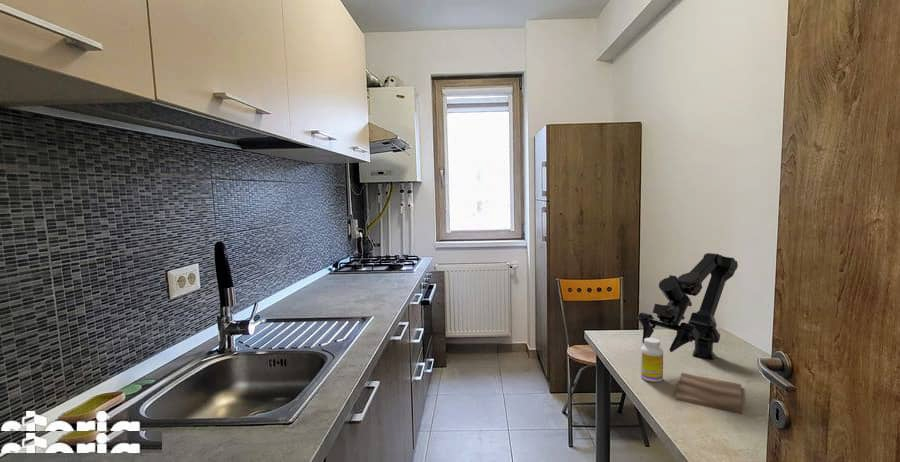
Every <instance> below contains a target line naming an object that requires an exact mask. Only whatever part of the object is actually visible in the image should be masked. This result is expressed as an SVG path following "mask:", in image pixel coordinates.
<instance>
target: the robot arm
mask: <svg viewBox="0 0 900 462" xmlns="http://www.w3.org/2000/svg"><path fill="white" fill-rule="evenodd" d="M738 265H739V264H738V261H737V260H735V258H734V257H729V256H724V255H721V254H720V253H712V252H707V253H704V255H703V258H701V260H700V261H699V262H698V263H697V264H696V265H695V266H694V267H693V268H692V269H691V270H690V271H689V272H687V273H686V272H685V273H683V274H681V275H679V276H678V277H677V275H669V276H668V277H665V278H664V279H661V280H660V281H659V283H658V288H659V290H660V291H661V292H662V294H663V296H664V297H665V298H666V300H667V304H658V303H654V305H653V308H652V313H653V314H656V318H657V319H655V318H654V317H653V315H652V314H650V313H646V312H639V313H638V315H637V317H636V318H637V320H638V321H639V323H640V324H641V326H642V330H643V331H642V344H643V345H645V344H644V339H645V338H651V337H652V334H653V333H654V331H655V330H654V329H655V328H656V327H661V328H664V329H668V330H671V331H676V336H675V337H674V339H673V341H672V343H671V345H670V347H669V350H668V351H669V352H670V353H672V352H674V351H676V350H677V349H679V348H680V347H682V346H684V345H685V344H687V343H692V342H693V341H694V349H693V351H692V356H693V357H696V358H703V359H707V360H708V359H709V360H714V359H715V352H714V344H715V343H716V344H718V343H719V341H720V339H721V334H720V332H719V331H718V329H717V325H718V324H717V322H716V318H715V314H716V312H717V308H718V305H719V302H720V299H721V297H722V293H723V290H724V287H725V284H726V282H727V281H728V280H729V279H731V278H732V277H733V276H734V275H735V272H736V270H737V269H738ZM709 275H710V278H709V282H708V284H707V287H706V290H705V293H704V296H703V298H702V301H701V305H700V306H699V307H700V308H699V310H698V311H696V312H695V311H694V312H691V314H690V318H689V320H688V322H684V321H683V320H685V319H686V317H685V313H686V310H687V308H688V307H692V305H693V304H692V303H693V302H692V301H691V298H690V297H689V296H693V297H696V296H698V295H699V293H701V291H702V289H703V285H702V283H703V282H704V280H705V279H707V277H708V276H709ZM681 321H683V322H681Z"/></svg>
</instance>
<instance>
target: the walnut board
mask: <svg viewBox="0 0 900 462" xmlns="http://www.w3.org/2000/svg"><path fill="white" fill-rule="evenodd" d="M679 377H680V378H679V380H678V381H679V382H678V385H677V387H676V392H675V396H674V398H675V399H676V400H681V401H684V402H689V403H692V404H696V405H697V404H698V405H702V406H706V407H711V408H714V409H715V408H716V409H720V410H724V411H727V412H729V411H730V412H732V413H733V412H734V413H736V414H737V413H738V414H741V415H742V413H743V412H742V411H743V408H742V406H743V405H742V383H736V382H731V381H727V380H721V379H716V378H711V377H707V376H706V377H705V376H701V375H697V374H696V375H695V374H691V373H686V372H681V374H680V376H679Z"/></svg>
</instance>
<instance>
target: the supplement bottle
mask: <svg viewBox="0 0 900 462" xmlns="http://www.w3.org/2000/svg"><path fill="white" fill-rule="evenodd" d="M660 345H661V340H660V339H658V338H655V337H650V338H645V339H644V344H643V345H642V346H641V348H640V370H639V371H640V372H639V373H640V374H639V375H640V377H641V378H642V379H643V380H645V381H648V382H651V383H659V382H662V381H663V379H664V350H663V348H661V347H660Z"/></svg>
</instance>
